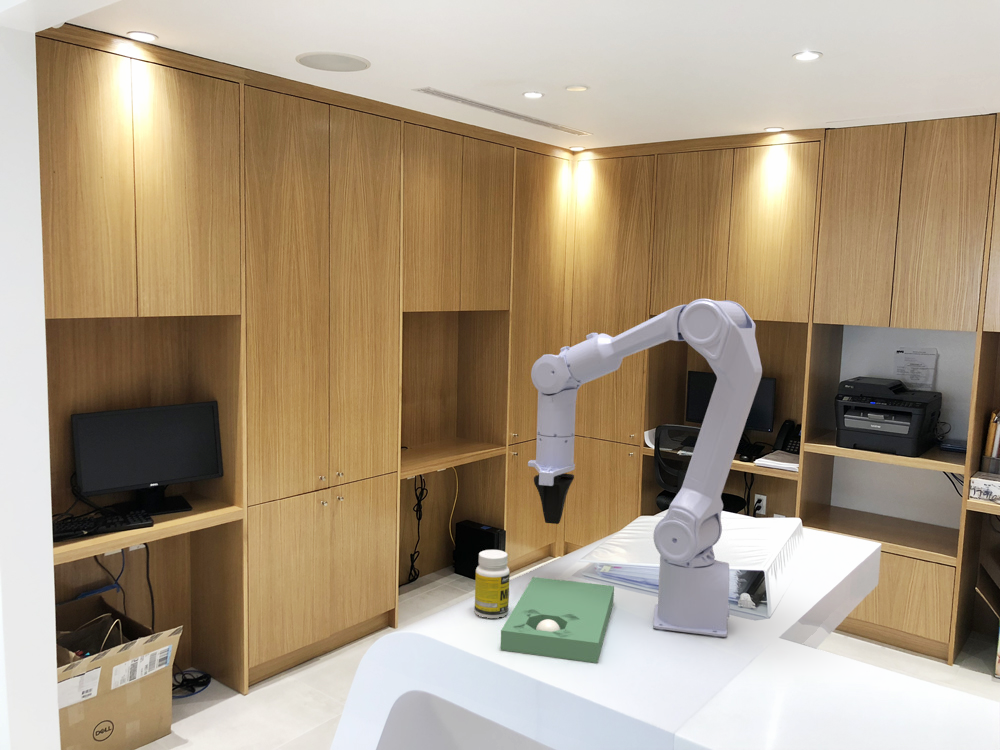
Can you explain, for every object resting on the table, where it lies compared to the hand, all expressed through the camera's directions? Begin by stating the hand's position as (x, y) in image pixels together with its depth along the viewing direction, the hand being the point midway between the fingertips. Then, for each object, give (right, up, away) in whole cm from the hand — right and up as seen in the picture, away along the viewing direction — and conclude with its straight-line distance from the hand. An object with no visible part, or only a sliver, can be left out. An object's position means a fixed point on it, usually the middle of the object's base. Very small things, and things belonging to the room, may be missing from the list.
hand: (552, 522), depth 117 cm
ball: (-2, -10, -20) cm, 23 cm away
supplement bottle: (-9, -11, -10) cm, 18 cm away
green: (0, -11, -14) cm, 18 cm away
